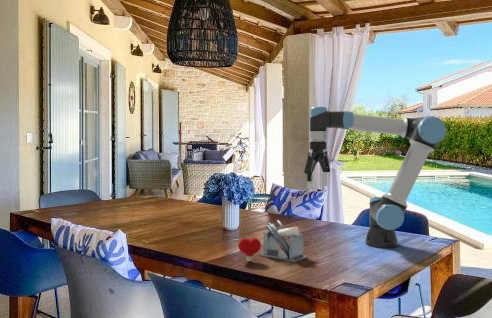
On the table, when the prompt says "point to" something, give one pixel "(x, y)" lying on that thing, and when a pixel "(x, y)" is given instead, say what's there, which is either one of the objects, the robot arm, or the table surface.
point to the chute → (282, 245)
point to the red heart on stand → (249, 247)
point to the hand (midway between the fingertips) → (317, 187)
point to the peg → (288, 232)
